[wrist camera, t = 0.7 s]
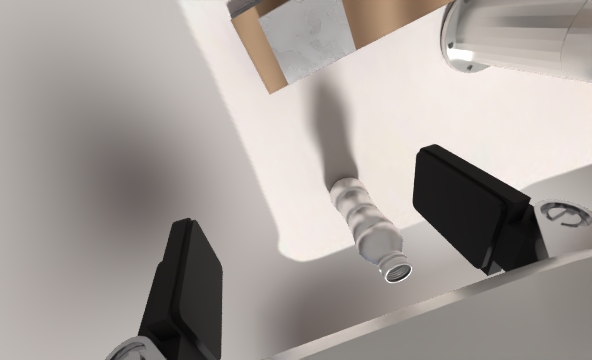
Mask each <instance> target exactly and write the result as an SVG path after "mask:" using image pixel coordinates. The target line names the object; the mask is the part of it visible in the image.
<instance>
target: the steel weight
mask: <svg viewBox="0 0 592 360" xmlns="http://www.w3.org/2000/svg"><path fill="white" fill-rule="evenodd" d="M258 21H259V23H260V25H261V27H262V29H263V31H264V33H265V36H266V38H267V40H268V42H269V44H270V46H271V48H272V50H273V53H274V55H275V57H276V59H277V61H278V63H279V65H280V68H281V70H282V72H283V74H284V76H285V78H286V80H287V82H288V85H290V84H292V83H293V82H295V81H297V80H299V79H301V78H303V77H305V76H307V75H309V74H311V73H313V72H315V71H317V70H319V69H321V68H323V67H325V66H327V65H329V64H331V63H333V62H335V61H337V60H339V59H341V58H343V57H345V56H346V55H348V54H350V53H352V52H354V51H356V48H355V45H354V41H353V38H352V34H351V31H350V27H349V24H348V20H347V17H346V13H345V10H344V7H343V3H342V0H289V1H287V2H285V3H284V4H282V5H280V6H278V7H277V8H275V9H273V10H271V11H270V12H268V13H266V14H264V15H263V16H261V17H259V19H258Z"/></svg>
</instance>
